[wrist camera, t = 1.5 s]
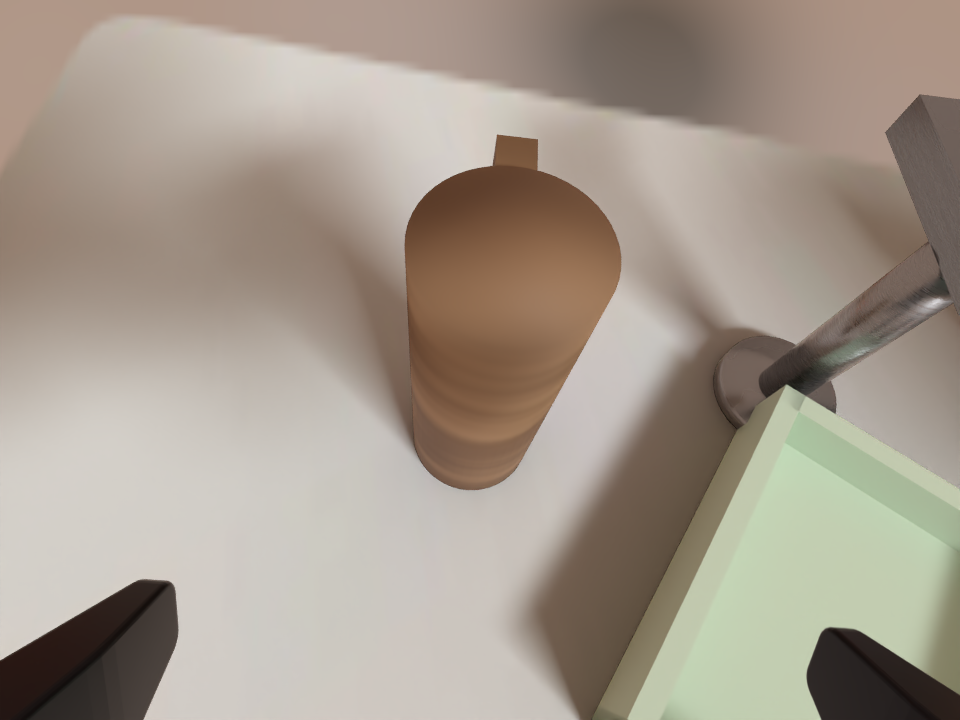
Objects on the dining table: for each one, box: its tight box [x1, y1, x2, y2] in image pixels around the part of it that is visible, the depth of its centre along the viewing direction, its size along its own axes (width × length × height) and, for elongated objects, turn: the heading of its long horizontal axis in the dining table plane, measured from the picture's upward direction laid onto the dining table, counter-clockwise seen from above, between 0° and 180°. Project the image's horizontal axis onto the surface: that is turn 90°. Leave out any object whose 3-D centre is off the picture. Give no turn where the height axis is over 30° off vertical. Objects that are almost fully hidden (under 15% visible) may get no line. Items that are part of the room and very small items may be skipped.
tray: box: [591, 384, 960, 720], centre depth 18 cm, size 14×12×3 cm
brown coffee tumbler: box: [405, 135, 621, 490], centre depth 17 cm, size 6×5×12 cm
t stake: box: [714, 95, 960, 429], centre depth 20 cm, size 8×5×11 cm, turn 176°
